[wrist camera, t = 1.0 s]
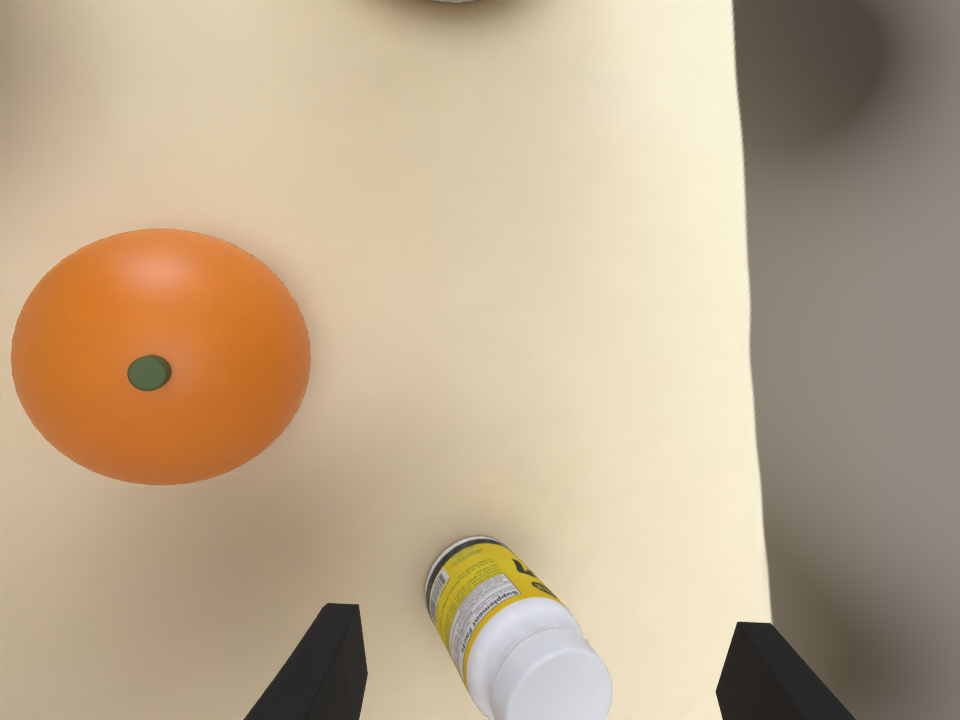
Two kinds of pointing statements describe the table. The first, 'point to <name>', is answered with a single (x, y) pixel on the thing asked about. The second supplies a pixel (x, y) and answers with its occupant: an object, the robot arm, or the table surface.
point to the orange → (160, 357)
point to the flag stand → (454, 1)
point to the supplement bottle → (513, 637)
